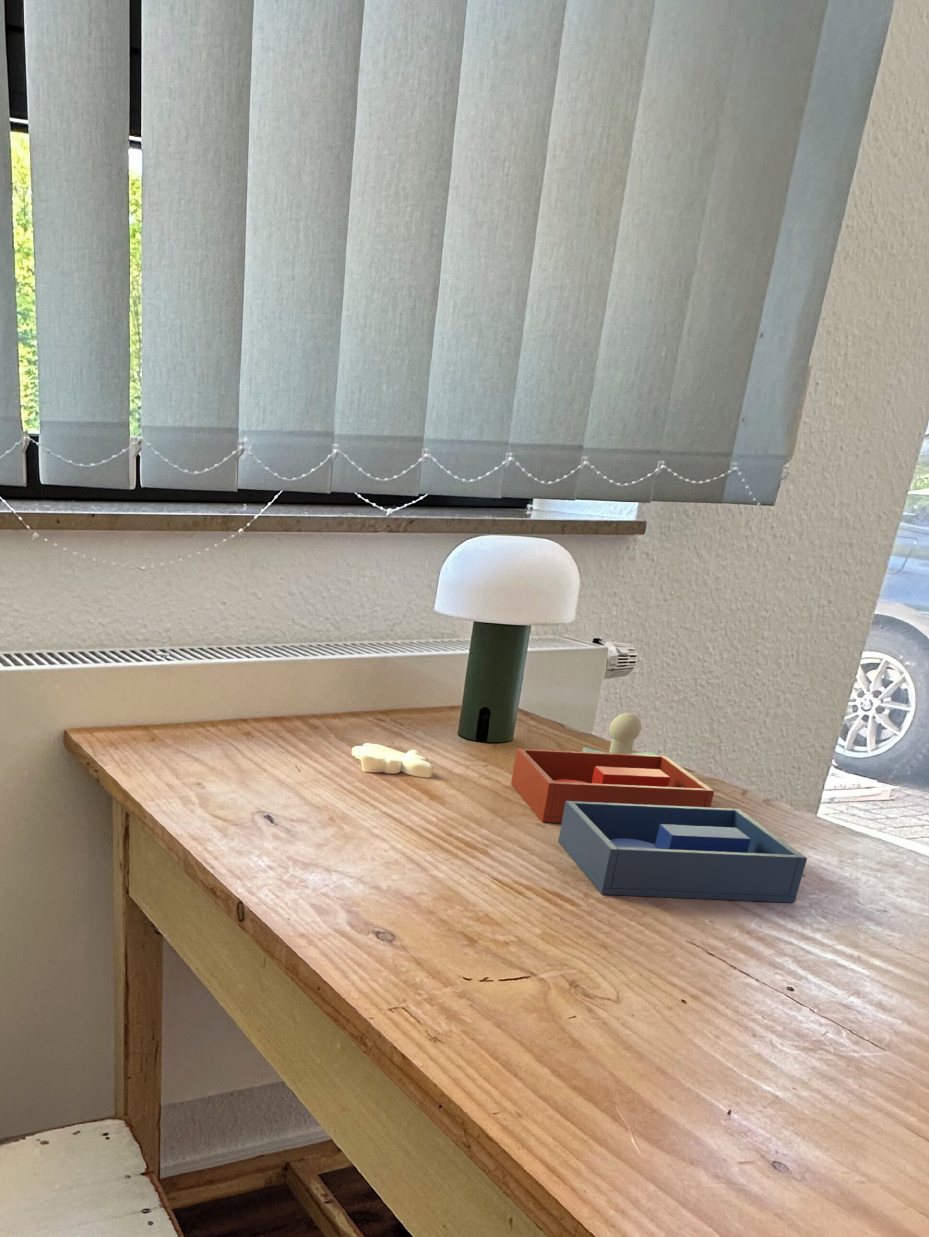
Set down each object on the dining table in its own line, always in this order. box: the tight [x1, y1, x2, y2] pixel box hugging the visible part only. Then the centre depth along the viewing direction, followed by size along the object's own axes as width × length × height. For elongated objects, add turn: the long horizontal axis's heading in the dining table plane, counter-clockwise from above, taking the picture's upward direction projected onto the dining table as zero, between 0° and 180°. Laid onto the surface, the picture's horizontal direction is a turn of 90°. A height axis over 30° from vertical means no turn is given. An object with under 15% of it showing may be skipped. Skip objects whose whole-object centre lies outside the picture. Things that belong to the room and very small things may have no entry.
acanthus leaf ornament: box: [351, 742, 434, 779], centre depth 105 cm, size 8×7×2 cm
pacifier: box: [582, 712, 660, 756], centre depth 107 cm, size 7×6×6 cm
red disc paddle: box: [553, 766, 670, 787], centre depth 96 cm, size 10×4×3 cm, turn 90°
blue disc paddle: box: [610, 824, 751, 853], centre depth 82 cm, size 10×4×3 cm, turn 90°
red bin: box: [510, 748, 715, 824], centre depth 96 cm, size 14×11×4 cm
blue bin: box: [557, 801, 808, 904], centre depth 82 cm, size 14×11×4 cm
